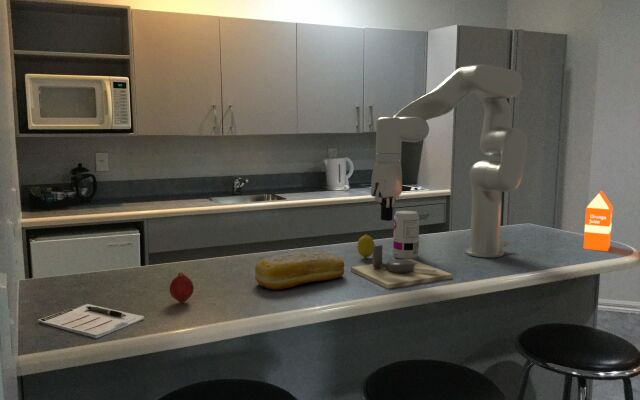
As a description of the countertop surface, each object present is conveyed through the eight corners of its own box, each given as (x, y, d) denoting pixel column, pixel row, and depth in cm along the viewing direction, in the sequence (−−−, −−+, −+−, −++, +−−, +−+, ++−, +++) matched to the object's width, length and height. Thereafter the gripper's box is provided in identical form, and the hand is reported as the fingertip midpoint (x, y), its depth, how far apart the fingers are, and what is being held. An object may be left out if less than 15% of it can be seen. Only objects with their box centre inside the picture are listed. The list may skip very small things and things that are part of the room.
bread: (247, 284, 155) (246, 256, 154) (322, 269, 170) (322, 243, 169) (272, 296, 144) (271, 266, 143) (350, 279, 160) (351, 252, 159)
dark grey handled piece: (438, 269, 163) (439, 247, 162) (433, 276, 155) (433, 254, 154) (377, 262, 170) (377, 242, 169) (368, 269, 163) (369, 248, 162)
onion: (172, 299, 142) (171, 268, 140) (195, 298, 142) (194, 268, 141) (168, 307, 136) (166, 275, 135) (192, 306, 136) (191, 274, 135)
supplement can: (390, 258, 182) (391, 213, 180) (396, 252, 190) (397, 209, 188) (415, 260, 179) (416, 214, 177) (420, 254, 187) (421, 211, 185)
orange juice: (610, 246, 199) (614, 190, 196) (607, 251, 191) (611, 193, 188) (586, 243, 203) (589, 189, 200) (582, 248, 196) (586, 192, 193)
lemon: (373, 261, 179) (373, 236, 178) (356, 260, 180) (356, 236, 179) (375, 256, 184) (375, 233, 183) (358, 256, 186) (358, 232, 184)
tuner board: (410, 262, 177) (410, 258, 177) (452, 278, 159) (452, 273, 159) (350, 270, 167) (350, 266, 167) (387, 288, 150) (387, 284, 149)
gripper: (392, 157, 173) (391, 215, 175) (362, 159, 162) (361, 221, 164) (413, 158, 167) (411, 218, 170) (383, 160, 157) (381, 224, 159)
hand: (386, 220), depth 167 cm, fingers closed
